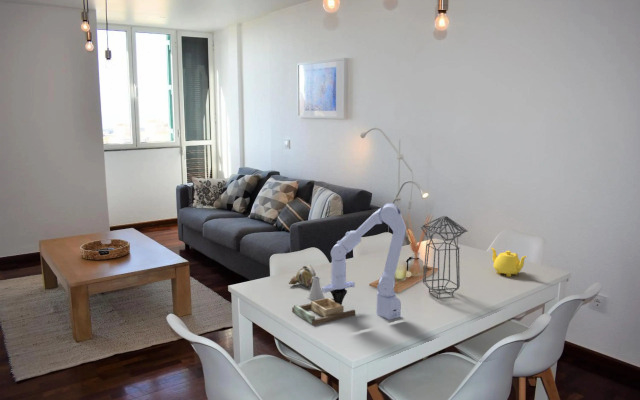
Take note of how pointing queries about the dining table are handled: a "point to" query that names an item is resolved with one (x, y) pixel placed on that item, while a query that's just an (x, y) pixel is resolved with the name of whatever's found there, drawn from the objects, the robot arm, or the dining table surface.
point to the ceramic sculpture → (304, 276)
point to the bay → (311, 318)
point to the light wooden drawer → (326, 307)
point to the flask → (315, 290)
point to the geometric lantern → (442, 249)
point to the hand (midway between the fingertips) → (338, 306)
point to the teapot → (507, 263)
